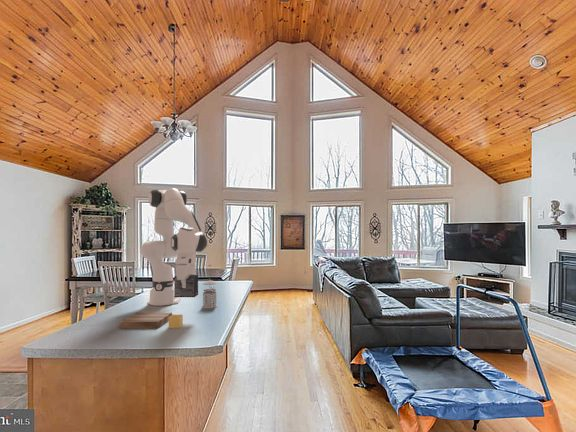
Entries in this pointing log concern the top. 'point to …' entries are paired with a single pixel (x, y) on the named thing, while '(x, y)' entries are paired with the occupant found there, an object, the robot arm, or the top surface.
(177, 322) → the mustard block
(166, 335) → the top surface
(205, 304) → the french press
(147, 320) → the base board
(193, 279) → the small box
